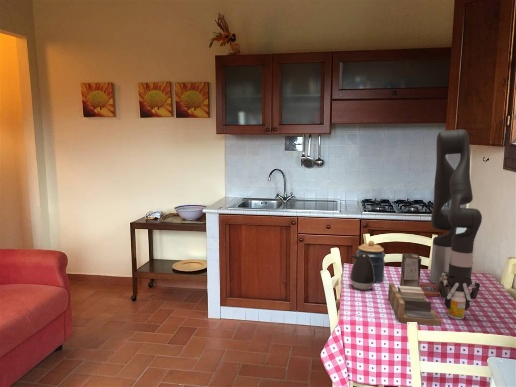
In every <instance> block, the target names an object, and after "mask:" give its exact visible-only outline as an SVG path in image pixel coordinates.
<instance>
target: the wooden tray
mask: <svg viewBox="0 0 516 387" xmlns="http://www.w3.org/2000/svg"><path fill="white" fill-rule="evenodd" d="M387 292H388V293H387V294H388V295H387V300H388V304H389V305H390V307H391V309H392V312H393V313H394V316H395V317H396V320H397V322H398V324H400V323H401V324H408V323H407V322H417V323H418V324H417V325H424V326H425V325H426V326H435V327H442V319H441V317H440V316H439V315H438V314H437V312H436V310H434V308H433V307H432V301H430V300H428V299H427V298H426V297H425V292H424V291H423V289H422V287H421V286H419V287H408V286H400V285H398V286H397V287H396V285H395V284H394V282H388V290H387Z"/></svg>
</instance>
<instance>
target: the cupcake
mask: <svg viewBox="0 0 516 387" xmlns="http://www.w3.org/2000/svg"><path fill="white" fill-rule="evenodd" d="M447 277H448V273H447V272H444V273H442V277H441V278H440V279H441V280H444V279H447ZM436 285H437V288H438V293H439V292H440V290H439V282H438V283H437V284H436ZM448 287H449V284H448V283H446V285H445V286H444V289H445V293H446V292H447V289H448ZM440 298H442V299H444V298H445V297H442V295H441V297H440Z"/></svg>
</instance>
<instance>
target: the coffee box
mask: <svg viewBox="0 0 516 387" xmlns="http://www.w3.org/2000/svg"><path fill="white" fill-rule="evenodd" d="M400 267H401V268H400V282H399V286H408V287H420V280H421V279H420V278H421V267H422V258H421V257H420V255H419V254H418V253H405V252H402V254H401V266H400Z"/></svg>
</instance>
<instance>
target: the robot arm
mask: <svg viewBox="0 0 516 387" xmlns="http://www.w3.org/2000/svg"><path fill="white" fill-rule="evenodd" d="M470 149H471V148H470V138H469V134H468V131H467V130H465V129H462V128H461V129H450V130H449V129H448V130H441V131H438V134H437V136H436V163H435V164H436V166H435V174H434V186H433V188H434V189H433V191H434V192H433V205H432V209H431V210H432V211H431V218H430V223H431V224H430V225H431V227H432V228H433V229H435V230H439V231H447V232H446V233H445V234H443V235H438V236H434V237H433V239H432V250H431V260H430V261H431V262H430V270H429V271H430V272H429V273H430V274H429V281H430V282H431V283H434V284H436V285H437V283H438V282H439V290H440V294H441V295H442V297H445V299H444V306H445V308H446V309H447V310H448V309H450V302H451V299H450V297H451V296H452V294H453V293H454V292H455V291H461V292H464V297H465V299H466V303H465V311H468V309H469V308H470V307H471V306H470V305H471V304H470V303H471V300H475V299H477V297H478V294H479V291H480V287H481V284H480V282H478V281H476V280H475V281H473V280H472V272H473V264H474V245H475V239H476V236H477V233H478V232H479V229H480V227H481V225H482V222H483V221H482V220H483V217H482V213H481V211H480V210H479V209H478V208H471V207H470V208H469V207H468V208H467V207H461V206H464V205H467V204H470V203H471V202H472V201H473V197H474V196H473V189H472V184H471V172H470V171H471V166H470V165H471V161H470V160H471V157H470V156H471V155H470V154H471V153H470V151H471V150H470ZM456 154H457V155H458V154H460V155H459V156H460V158H459V162H458V164H457V166H456V167H455V169H454V167H453V166H452V165H451V164H450V163H449V160H448V158H447V155H456ZM448 202H450V206H449V207H450V208H449V209H445V208H444V206H445V205H447V203H448ZM443 208H444V209H443ZM458 228H461V229H465V230H464V231H463V232H459V233H457V229H458ZM444 272H447V273H448V277H447V279H444V280H441V279H440V278H441V277H442V273H444ZM446 283H448V284H449V287H448V289H447V292H446V293H445V289H444V286H445V285H446ZM470 287H471V291H470V292H469V289H468V288H470ZM439 290H438V291H439ZM442 297H441V298H442Z"/></svg>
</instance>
